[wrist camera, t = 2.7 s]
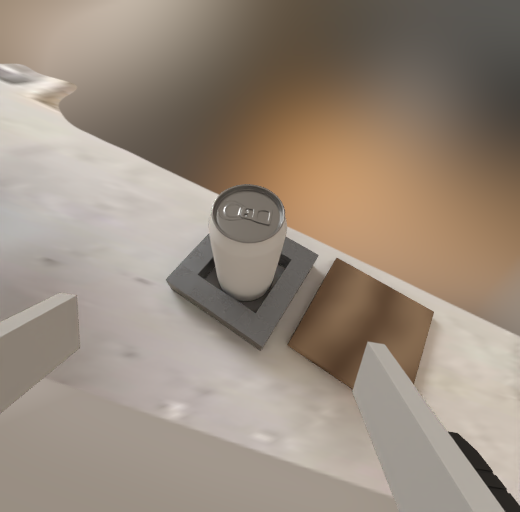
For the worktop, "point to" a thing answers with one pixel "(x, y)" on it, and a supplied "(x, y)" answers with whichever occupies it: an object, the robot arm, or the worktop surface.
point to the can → (247, 239)
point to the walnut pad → (360, 324)
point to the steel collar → (228, 309)
